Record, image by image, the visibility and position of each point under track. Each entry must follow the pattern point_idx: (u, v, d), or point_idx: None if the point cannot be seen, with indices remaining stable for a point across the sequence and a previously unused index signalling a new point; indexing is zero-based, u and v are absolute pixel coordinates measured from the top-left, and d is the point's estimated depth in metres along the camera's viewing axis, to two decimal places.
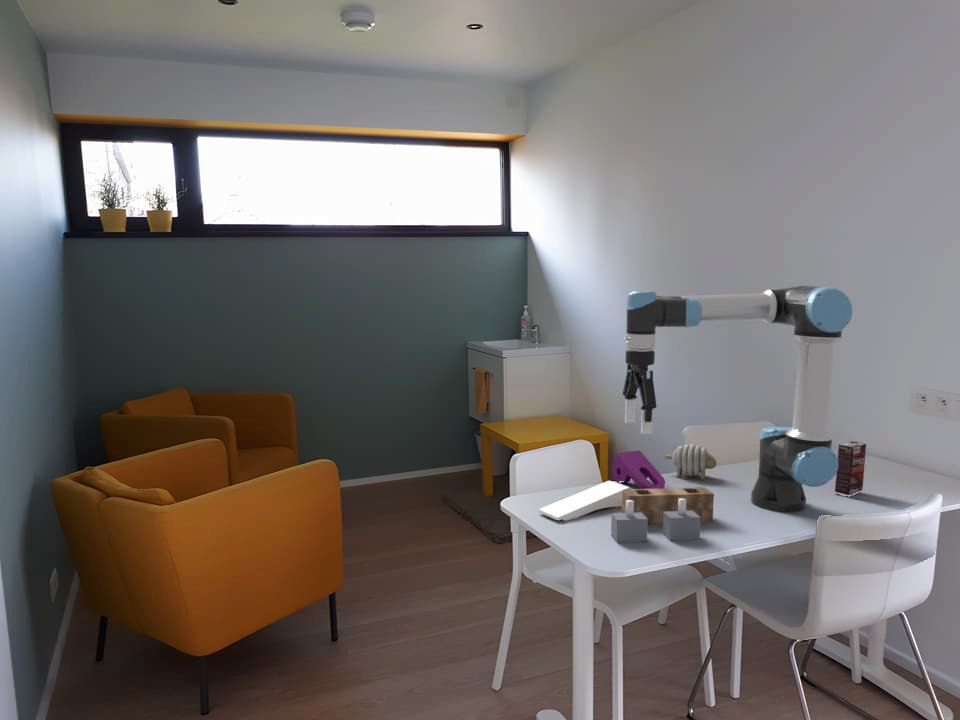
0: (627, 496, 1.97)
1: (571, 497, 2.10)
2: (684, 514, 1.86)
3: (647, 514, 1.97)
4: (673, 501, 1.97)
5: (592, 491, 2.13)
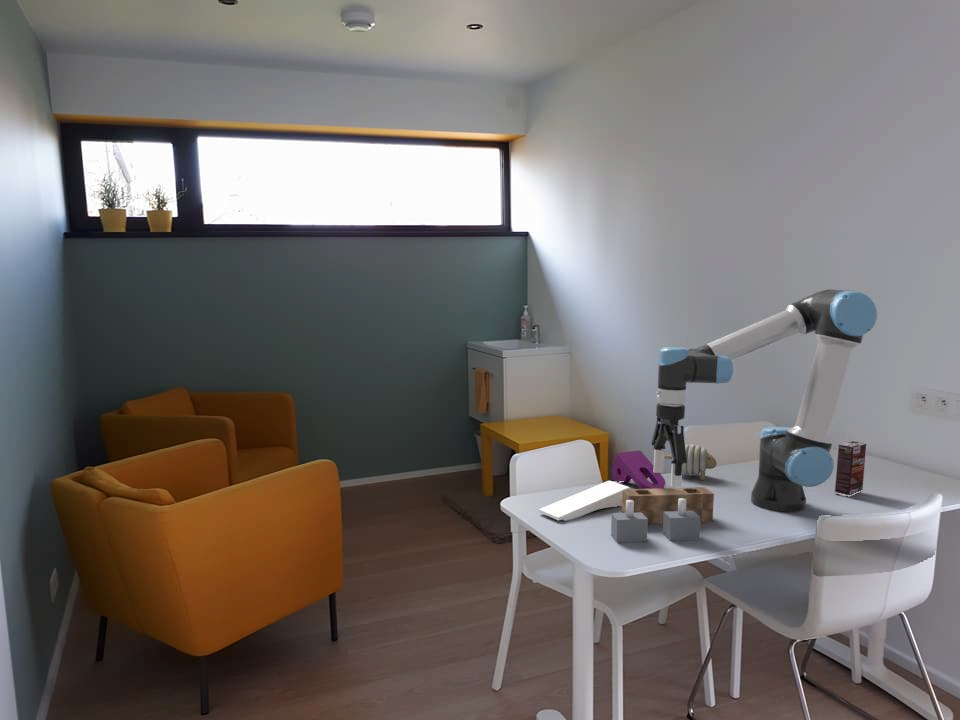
0: (627, 496, 1.97)
1: (571, 497, 2.10)
2: (684, 514, 1.86)
3: (647, 514, 1.97)
4: (673, 501, 1.97)
5: (592, 491, 2.13)
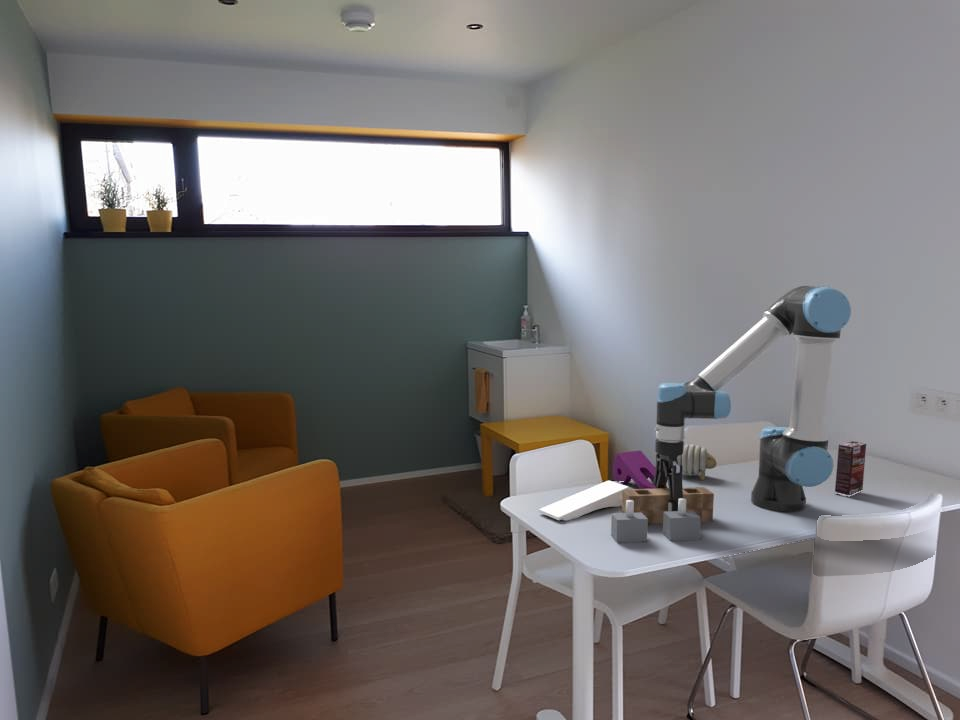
0: (627, 496, 1.97)
1: (571, 497, 2.10)
2: (684, 514, 1.86)
3: (647, 514, 1.97)
4: None
5: (591, 490, 2.13)
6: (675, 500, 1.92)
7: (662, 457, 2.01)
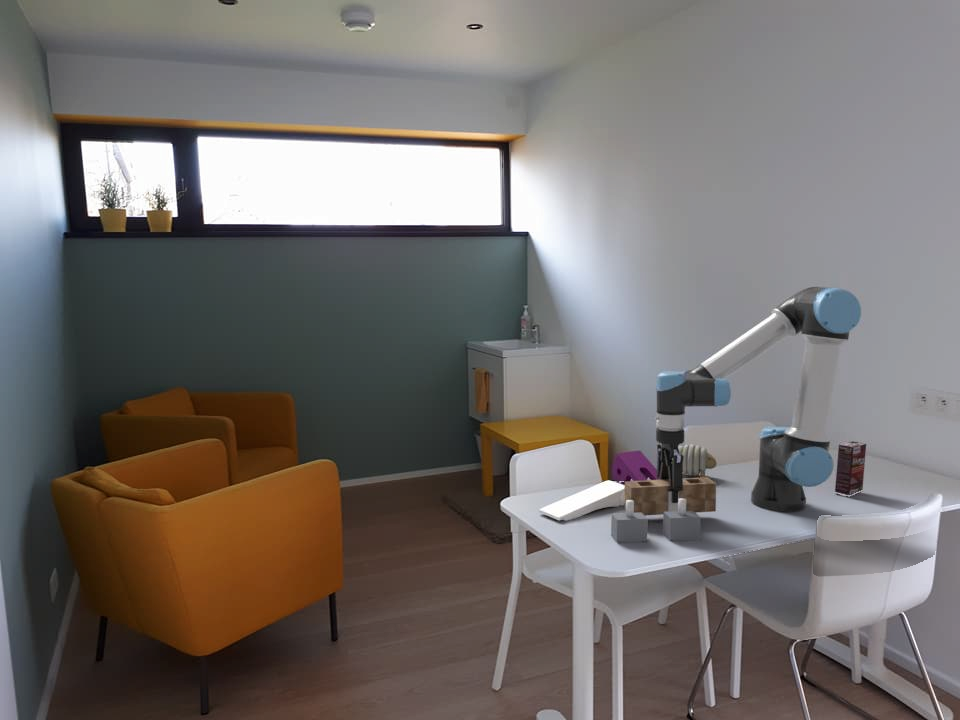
0: (629, 488, 1.97)
1: (571, 497, 2.10)
2: (684, 514, 1.86)
3: (650, 505, 1.97)
4: None
5: (591, 490, 2.13)
6: (675, 489, 1.93)
7: (663, 445, 2.00)
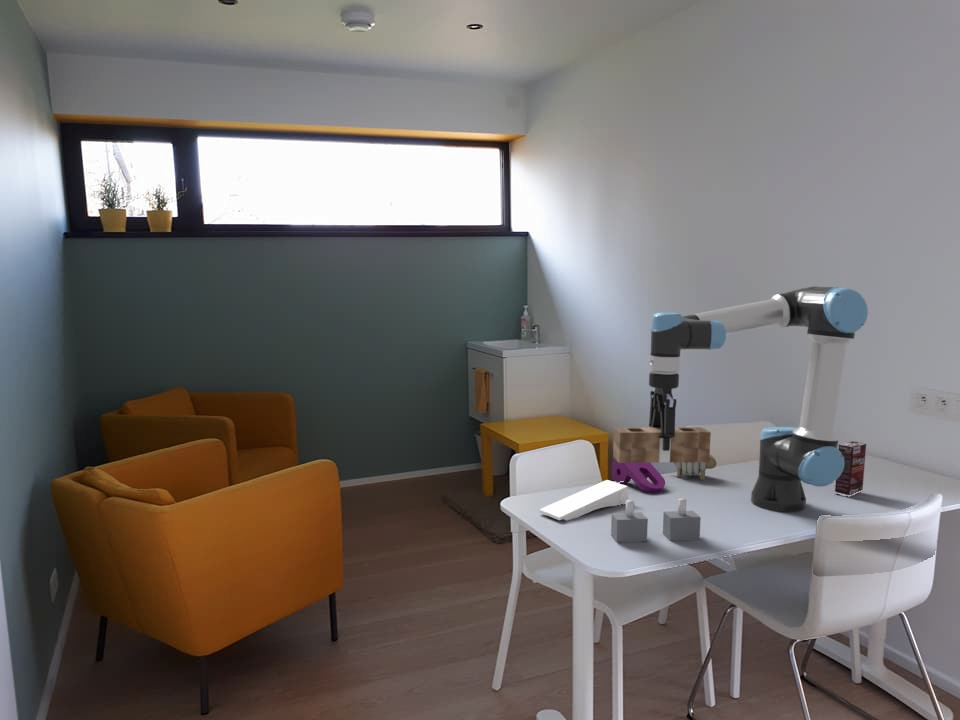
0: (618, 433, 1.87)
1: (571, 497, 2.10)
2: (684, 514, 1.86)
3: (639, 452, 1.87)
4: None
5: (591, 490, 2.14)
6: (666, 435, 1.83)
7: (656, 391, 1.90)
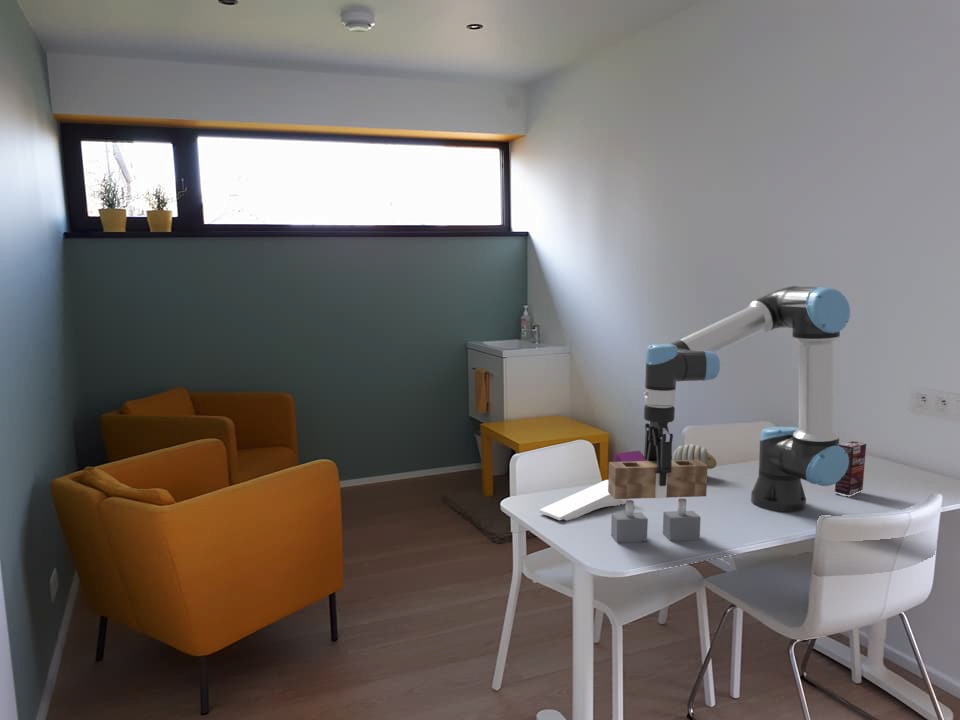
0: (613, 468, 1.82)
1: (571, 497, 2.10)
2: (684, 514, 1.86)
3: (635, 487, 1.82)
4: None
5: (590, 490, 2.14)
6: (663, 470, 1.78)
7: (651, 424, 1.85)
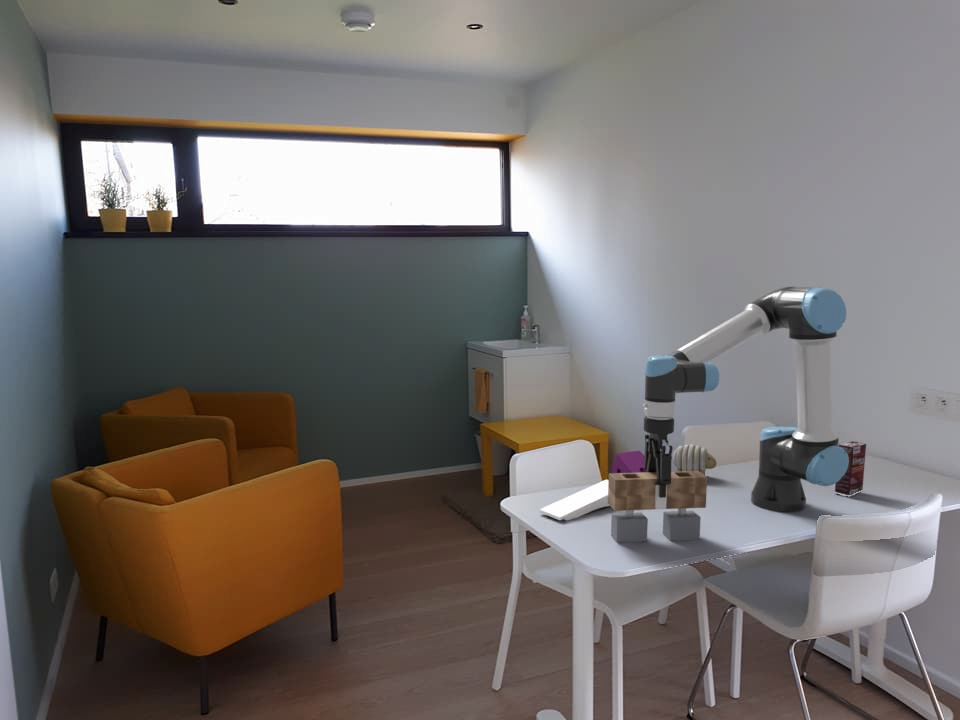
0: (613, 480, 1.82)
1: (570, 497, 2.10)
2: (684, 514, 1.86)
3: (635, 499, 1.82)
4: None
5: (590, 490, 2.14)
6: (662, 482, 1.78)
7: (651, 435, 1.86)
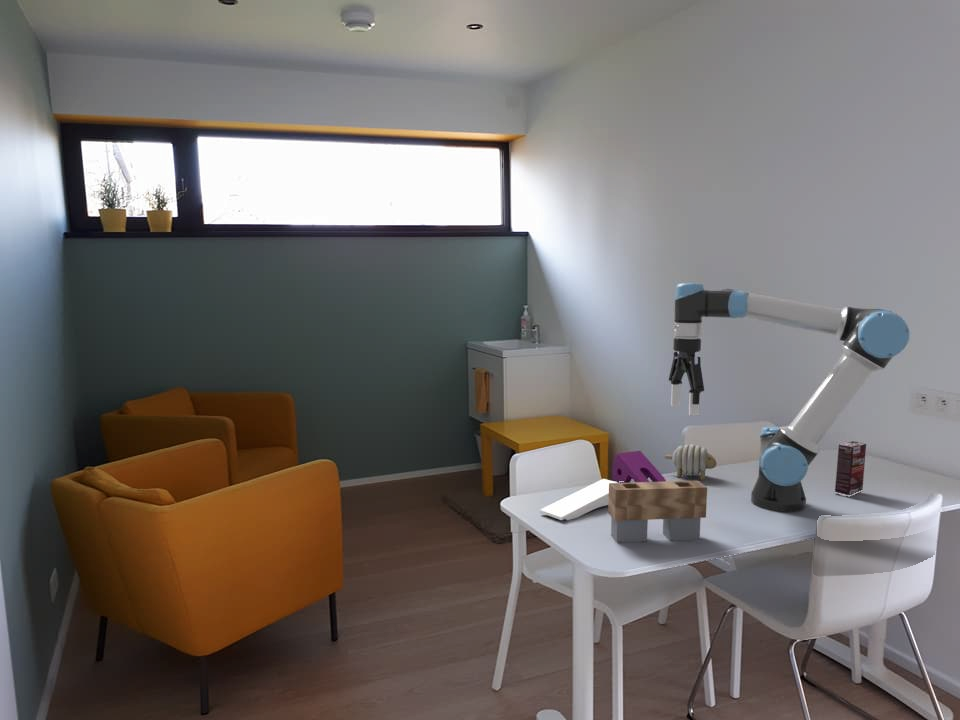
0: (614, 490, 1.83)
1: (570, 496, 2.11)
2: None
3: (635, 509, 1.83)
4: (663, 495, 1.83)
5: (589, 489, 2.14)
6: (696, 389, 1.97)
7: (680, 357, 2.08)
